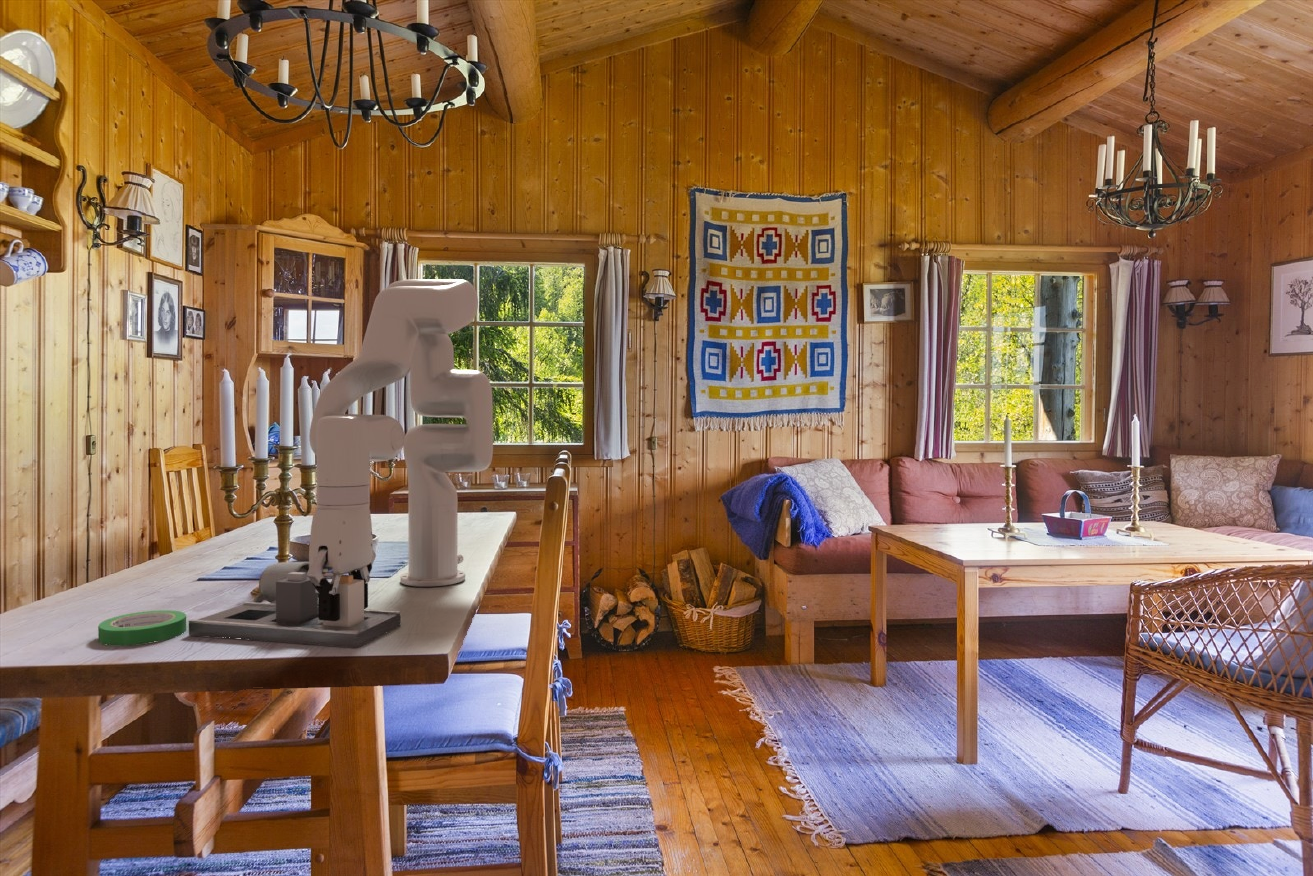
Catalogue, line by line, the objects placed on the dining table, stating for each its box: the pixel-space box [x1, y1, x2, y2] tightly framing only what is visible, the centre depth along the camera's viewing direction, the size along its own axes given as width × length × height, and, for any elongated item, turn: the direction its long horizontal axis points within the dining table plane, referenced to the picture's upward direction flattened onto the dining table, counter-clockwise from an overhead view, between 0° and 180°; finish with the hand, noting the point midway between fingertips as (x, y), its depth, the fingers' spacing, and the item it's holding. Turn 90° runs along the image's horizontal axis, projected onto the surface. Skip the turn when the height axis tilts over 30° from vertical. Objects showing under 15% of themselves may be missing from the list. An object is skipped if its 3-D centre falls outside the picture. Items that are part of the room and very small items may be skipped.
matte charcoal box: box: [276, 572, 318, 624], centre depth 120 cm, size 4×4×9 cm
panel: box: [188, 601, 401, 649], centre depth 120 cm, size 12×28×2 cm, turn 79°
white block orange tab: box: [323, 574, 364, 627], centre depth 118 cm, size 4×4×9 cm
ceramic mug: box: [252, 561, 309, 604], centre depth 135 cm, size 11×8×8 cm
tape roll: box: [97, 609, 187, 647], centre depth 117 cm, size 11×11×3 cm
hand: (343, 613), depth 118 cm, fingers open, 6 cm apart
